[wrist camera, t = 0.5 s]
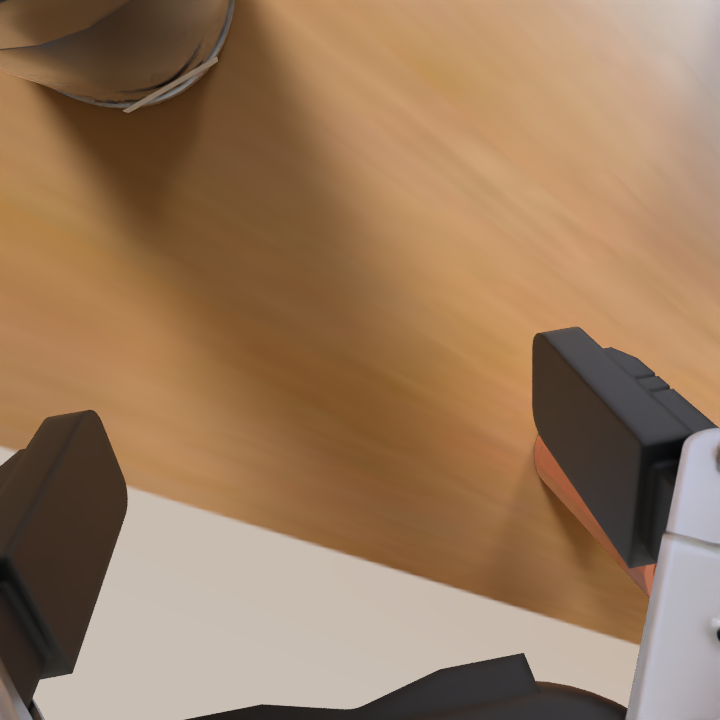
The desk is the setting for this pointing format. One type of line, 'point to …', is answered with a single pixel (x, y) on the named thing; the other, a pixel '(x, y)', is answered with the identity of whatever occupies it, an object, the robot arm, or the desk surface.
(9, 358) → the desk surface
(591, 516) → the pencil cup
